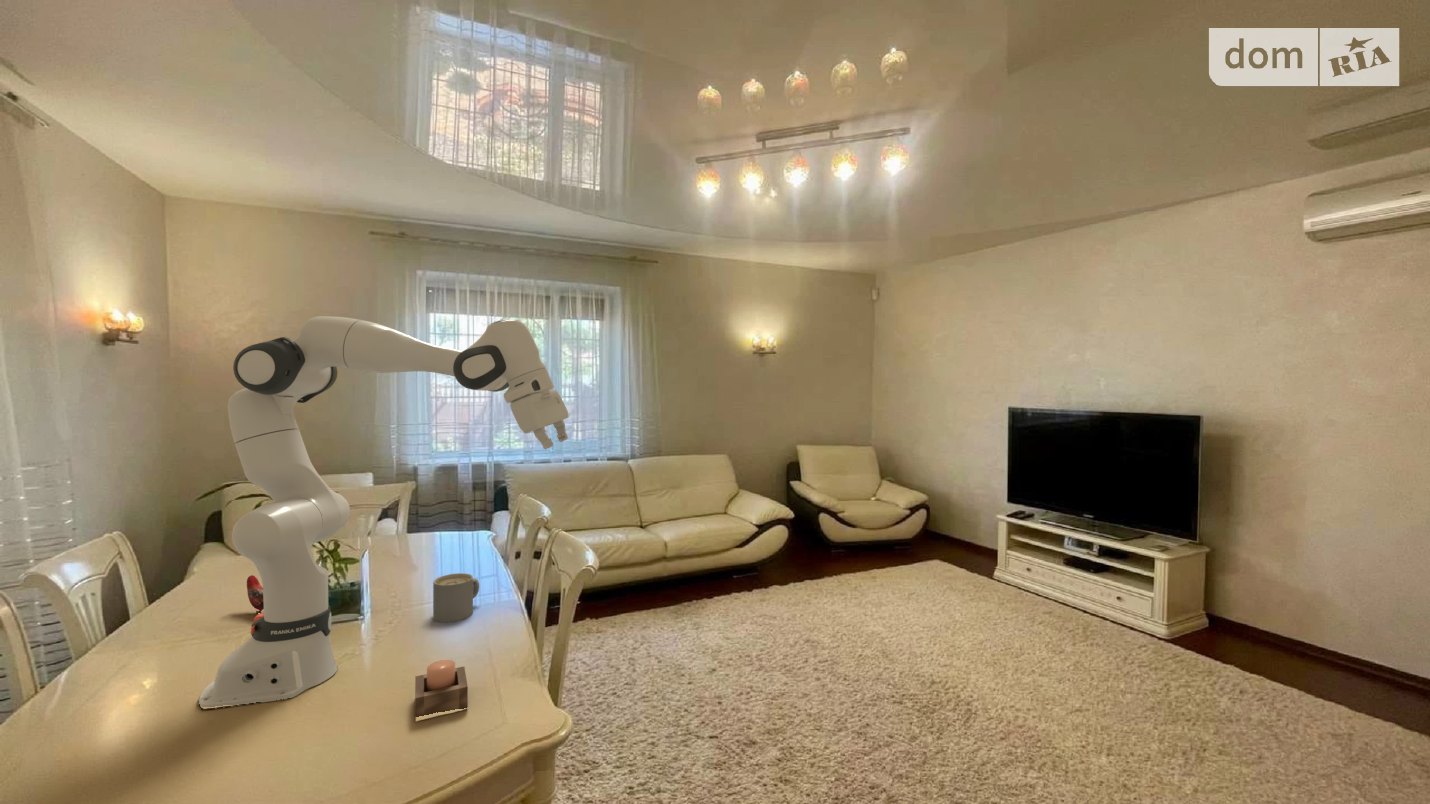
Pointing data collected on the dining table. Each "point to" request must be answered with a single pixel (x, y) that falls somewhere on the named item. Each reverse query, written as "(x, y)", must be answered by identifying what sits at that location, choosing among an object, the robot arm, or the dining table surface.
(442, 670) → the push button
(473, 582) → the coffee mug
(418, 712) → the button box
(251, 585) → the decorative bird figurine
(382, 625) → the dining table surface
